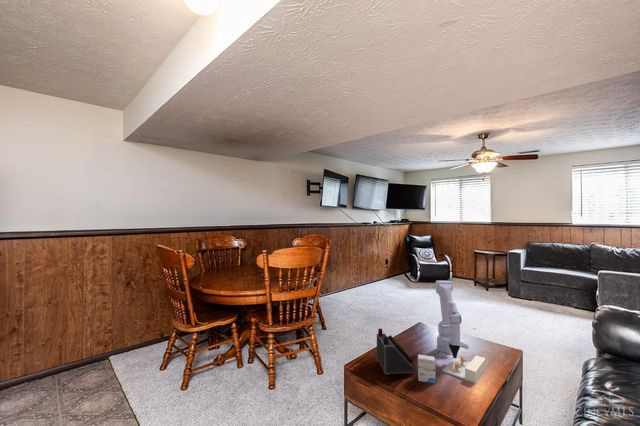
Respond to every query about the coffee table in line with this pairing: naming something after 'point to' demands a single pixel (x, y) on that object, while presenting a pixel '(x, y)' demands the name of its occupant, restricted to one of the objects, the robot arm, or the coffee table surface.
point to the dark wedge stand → (392, 355)
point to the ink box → (426, 369)
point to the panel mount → (467, 369)
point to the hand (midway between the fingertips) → (454, 357)
